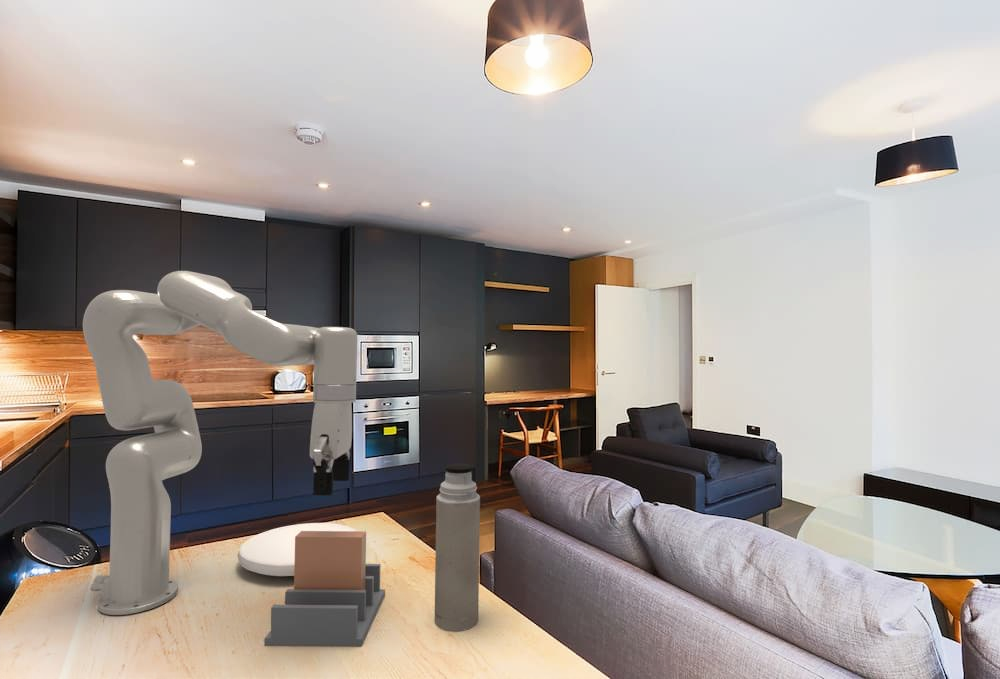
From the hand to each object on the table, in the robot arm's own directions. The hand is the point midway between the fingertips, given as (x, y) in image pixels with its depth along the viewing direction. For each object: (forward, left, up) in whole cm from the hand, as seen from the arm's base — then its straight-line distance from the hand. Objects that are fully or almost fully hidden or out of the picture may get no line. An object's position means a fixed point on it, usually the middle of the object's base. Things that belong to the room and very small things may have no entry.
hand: (332, 487), depth 93 cm
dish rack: (0, 0, -24) cm, 24 cm away
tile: (0, 0, -23) cm, 23 cm away
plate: (-15, +26, -24) cm, 38 cm away
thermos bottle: (+23, 0, -24) cm, 33 cm away
